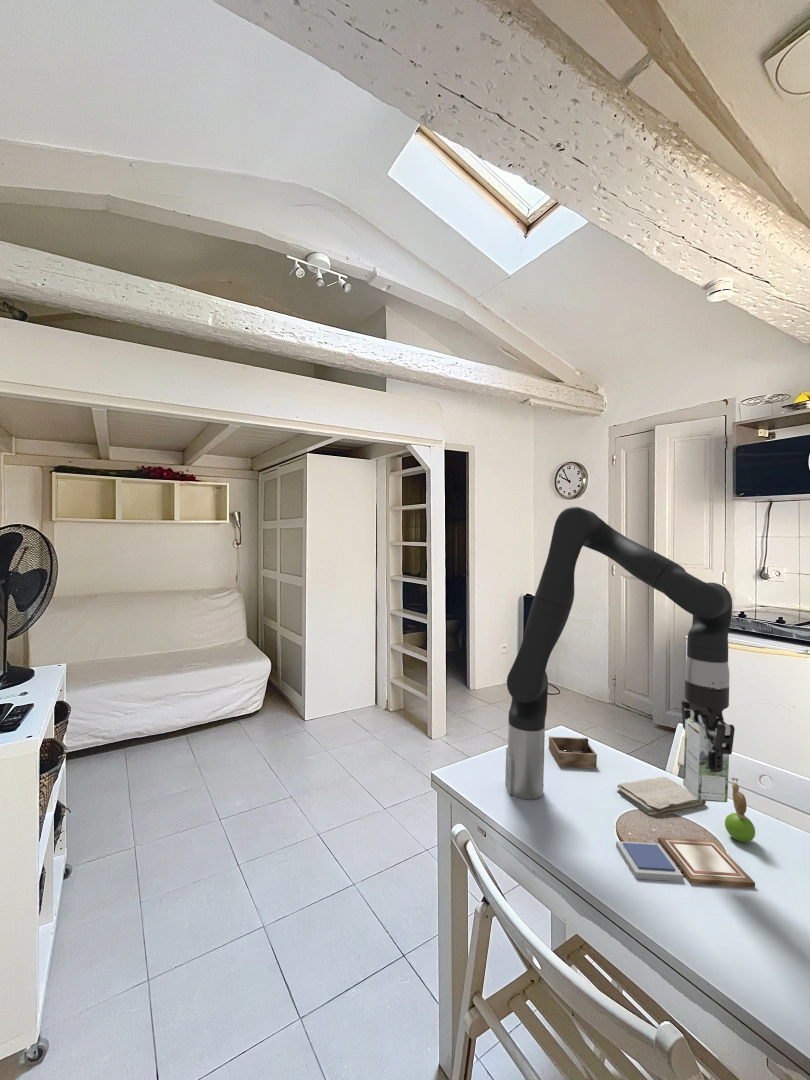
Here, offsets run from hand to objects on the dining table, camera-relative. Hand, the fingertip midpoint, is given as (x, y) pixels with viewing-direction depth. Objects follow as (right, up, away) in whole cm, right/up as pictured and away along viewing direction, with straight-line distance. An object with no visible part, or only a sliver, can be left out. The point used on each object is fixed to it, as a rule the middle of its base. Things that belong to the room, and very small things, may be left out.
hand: (705, 762), depth 91 cm
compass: (-11, -21, +42) cm, 48 cm away
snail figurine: (+13, -21, +8) cm, 26 cm away
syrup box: (0, -7, 0) cm, 7 cm away
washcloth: (+4, -22, +23) cm, 32 cm away
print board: (0, -21, 0) cm, 21 cm away
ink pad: (-12, -20, 0) cm, 24 cm away
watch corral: (-11, -21, +44) cm, 50 cm away
